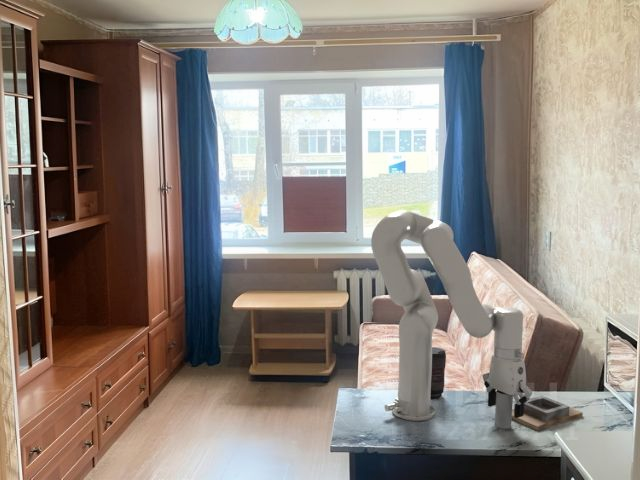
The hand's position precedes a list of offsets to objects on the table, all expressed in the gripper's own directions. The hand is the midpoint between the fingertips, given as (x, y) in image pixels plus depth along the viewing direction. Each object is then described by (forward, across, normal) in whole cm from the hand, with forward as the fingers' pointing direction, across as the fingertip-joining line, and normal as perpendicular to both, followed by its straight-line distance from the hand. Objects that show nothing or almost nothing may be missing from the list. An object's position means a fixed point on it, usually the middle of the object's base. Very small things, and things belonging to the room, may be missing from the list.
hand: (505, 411), depth 192 cm
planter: (+5, 0, 0) cm, 5 cm away
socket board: (+5, -1, -16) cm, 16 cm away
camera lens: (+4, +28, +2) cm, 29 cm away
